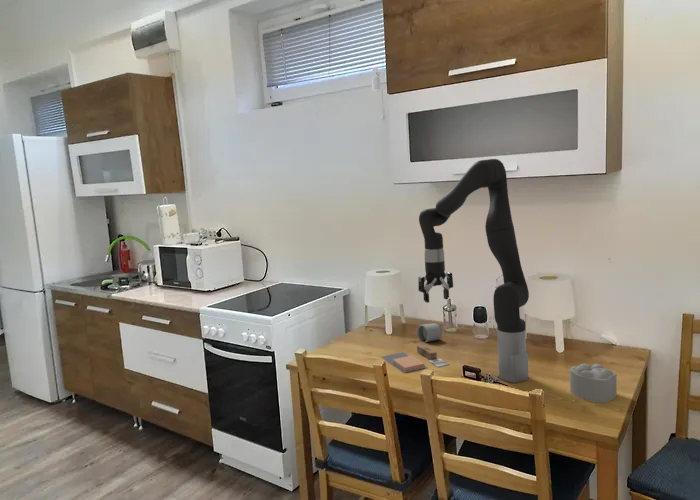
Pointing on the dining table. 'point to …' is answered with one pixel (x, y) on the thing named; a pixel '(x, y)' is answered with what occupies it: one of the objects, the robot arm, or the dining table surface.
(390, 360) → the mat
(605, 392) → the lumpy-topped squat cylinder
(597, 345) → the dining table surface
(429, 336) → the ceramic mug
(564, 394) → the dining table surface
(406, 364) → the tile
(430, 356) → the turner
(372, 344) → the dining table surface
